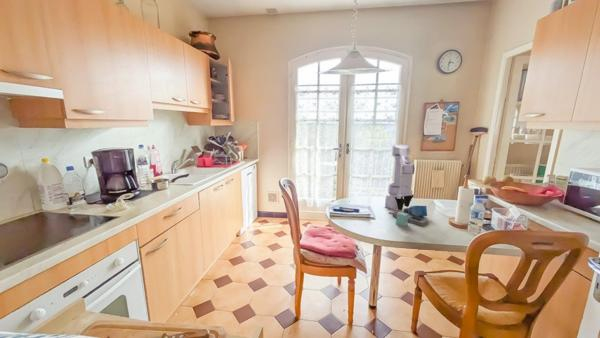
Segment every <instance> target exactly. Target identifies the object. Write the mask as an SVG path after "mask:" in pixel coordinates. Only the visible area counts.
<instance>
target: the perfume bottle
mask: <svg viewBox="0 0 600 338" xmlns="http://www.w3.org/2000/svg"><path fill="white" fill-rule="evenodd" d="M427 211H428V209H427V205H412V206H408V207H405V208H404V207H403V212H404V213H407V214H411V215H414V216H418V217H428V212H427Z"/></svg>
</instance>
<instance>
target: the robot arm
mask: <svg viewBox="0 0 600 338" xmlns="http://www.w3.org/2000/svg"><path fill="white" fill-rule="evenodd" d="M410 152H411V146H410V145H409V144H393V146H392V151H391V156H392V157H393V158H394V171H393V173H394V174H393V181H391V182H389V184H388V187H387V189H388V190H387V193H388V194H386V196H385V204H384V208H385V209H386V208H387V209H391V210H394V211H402V210H404V207H405V208H409V207H410V205H411V204H410V203H411V201H412V199H413V198H414V196H415V195H414V194H413V190H412V182H413V175H414V174H415V164H414V163H412V160H411V158H410V157H409V156H408V155H409V154H410Z"/></svg>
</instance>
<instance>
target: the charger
mask: <svg viewBox="0 0 600 338" xmlns="http://www.w3.org/2000/svg"><path fill="white" fill-rule="evenodd" d="M403 212H404V211H401V212H398V213H397V217H395V218H396V219H395V220H396V221H395V225H398V226H400V227H404V228H406V226H408V223H409V222H408V215H409V214H407V213H403Z"/></svg>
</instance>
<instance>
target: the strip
mask: <svg viewBox="0 0 600 338" xmlns="http://www.w3.org/2000/svg"><path fill="white" fill-rule="evenodd" d="M398 212H403V213H404V211H402V210H394V212H390V211H389V212H388V214H389V215H392V217H394V218H396V217H397V213H398ZM408 223H412V224H414V225H416V226H420V227H424V226H425V225H427V224H428V223H429V222H428V219H427V218H423V217H422V216H414V215H411V214H409V215H408Z"/></svg>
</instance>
